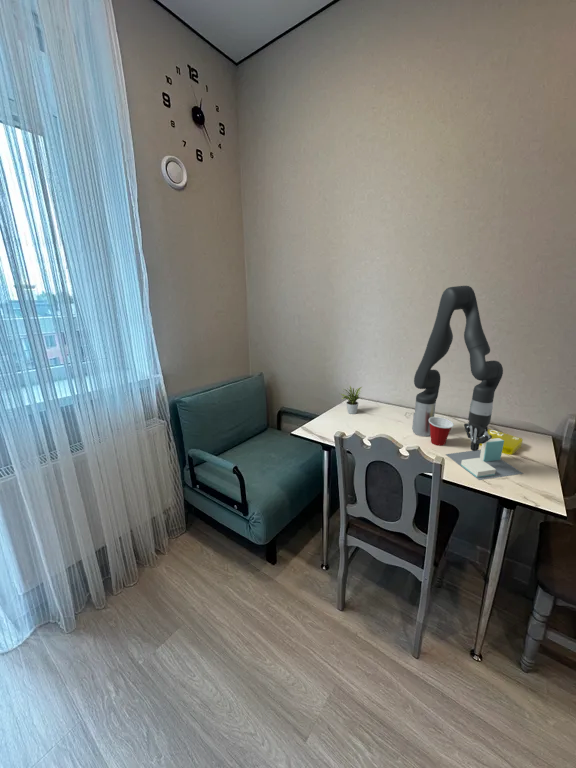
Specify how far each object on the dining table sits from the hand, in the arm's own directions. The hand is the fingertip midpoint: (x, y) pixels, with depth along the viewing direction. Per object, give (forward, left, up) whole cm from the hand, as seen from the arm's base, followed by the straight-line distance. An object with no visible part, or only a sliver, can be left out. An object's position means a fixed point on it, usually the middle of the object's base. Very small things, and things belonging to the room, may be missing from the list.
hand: (474, 450), depth 130 cm
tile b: (-3, +11, -7) cm, 13 cm away
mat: (-1, +6, -8) cm, 10 cm away
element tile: (-13, +25, -9) cm, 29 cm away
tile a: (-1, 0, -6) cm, 6 cm away
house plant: (-69, -25, -8) cm, 73 cm away
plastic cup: (-21, -1, -8) cm, 22 cm away
